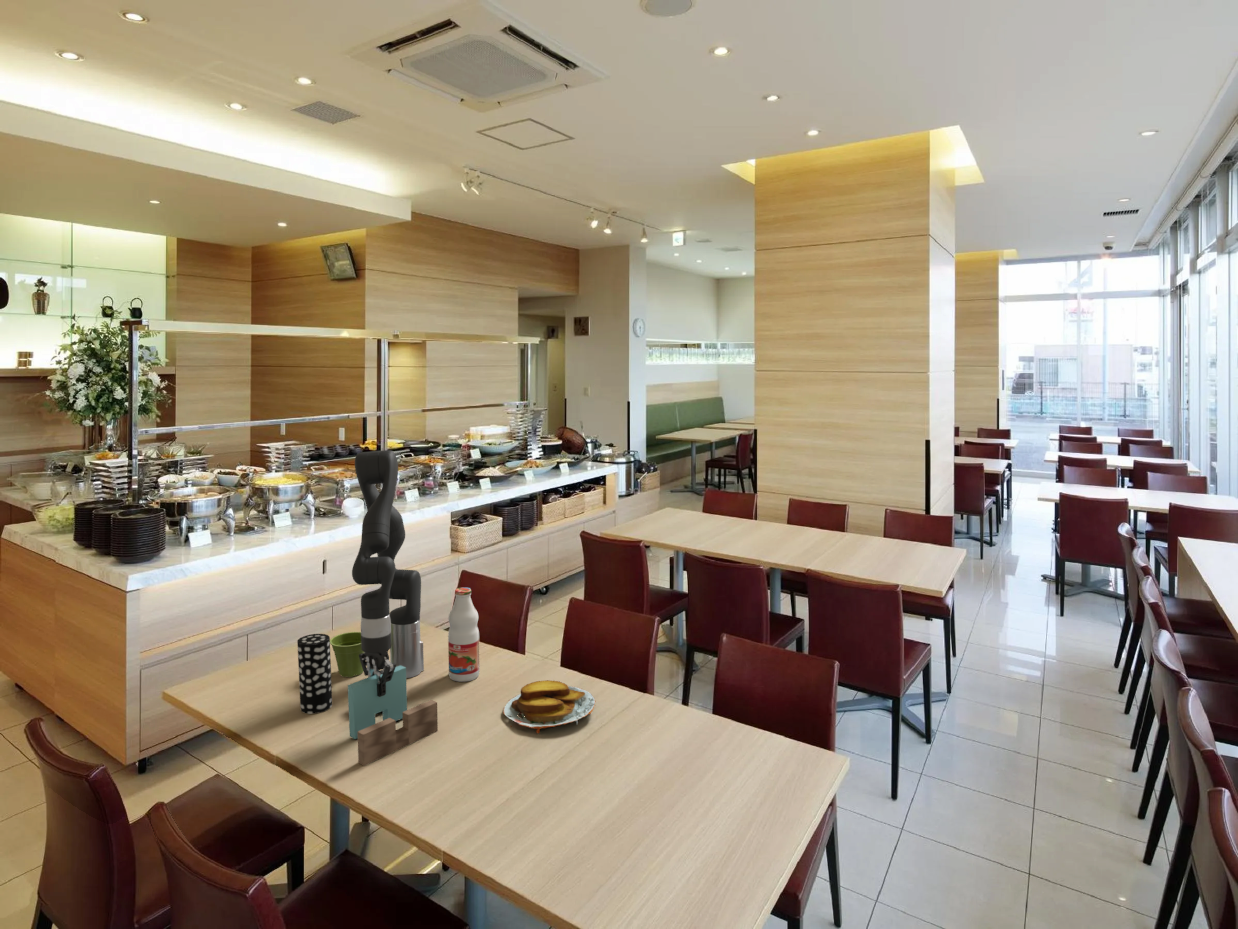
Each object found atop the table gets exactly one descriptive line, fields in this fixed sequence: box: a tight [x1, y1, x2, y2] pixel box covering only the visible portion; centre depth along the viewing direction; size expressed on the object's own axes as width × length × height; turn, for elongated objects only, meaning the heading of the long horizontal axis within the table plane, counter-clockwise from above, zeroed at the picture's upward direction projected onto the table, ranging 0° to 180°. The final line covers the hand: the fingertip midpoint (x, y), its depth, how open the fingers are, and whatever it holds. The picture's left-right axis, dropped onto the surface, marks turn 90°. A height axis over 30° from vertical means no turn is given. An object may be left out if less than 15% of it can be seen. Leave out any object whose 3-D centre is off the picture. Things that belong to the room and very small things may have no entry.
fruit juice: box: [447, 587, 480, 683], centre depth 224 cm, size 9×9×28 cm
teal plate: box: [347, 665, 408, 740], centre depth 192 cm, size 2×16×14 cm, turn 143°
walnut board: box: [357, 699, 439, 767], centre depth 184 cm, size 22×2×8 cm, turn 142°
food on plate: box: [502, 679, 596, 734], centre depth 203 cm, size 26×26×7 cm
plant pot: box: [330, 631, 364, 678], centre depth 226 cm, size 12×12×11 cm
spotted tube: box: [296, 633, 333, 715], centre depth 203 cm, size 8×8×20 cm
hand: (378, 693), depth 192 cm, fingers closed on teal plate, 2 cm apart
